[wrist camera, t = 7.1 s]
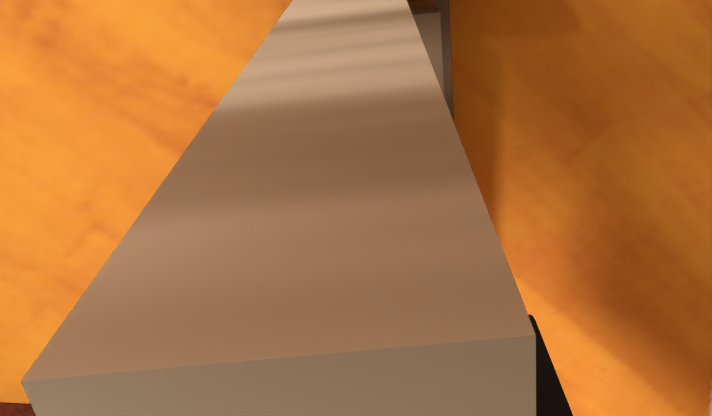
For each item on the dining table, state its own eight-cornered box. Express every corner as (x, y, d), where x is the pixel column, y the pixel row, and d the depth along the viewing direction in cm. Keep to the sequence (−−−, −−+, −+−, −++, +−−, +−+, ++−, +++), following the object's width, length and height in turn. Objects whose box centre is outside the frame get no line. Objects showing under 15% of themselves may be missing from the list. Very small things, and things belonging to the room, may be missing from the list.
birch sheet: (314, -31, 17) (18, 381, 3) (390, -41, 17) (532, 334, 2) (360, 290, 21) (347, 1122, 7) (421, 284, 21) (539, 1121, 7)
